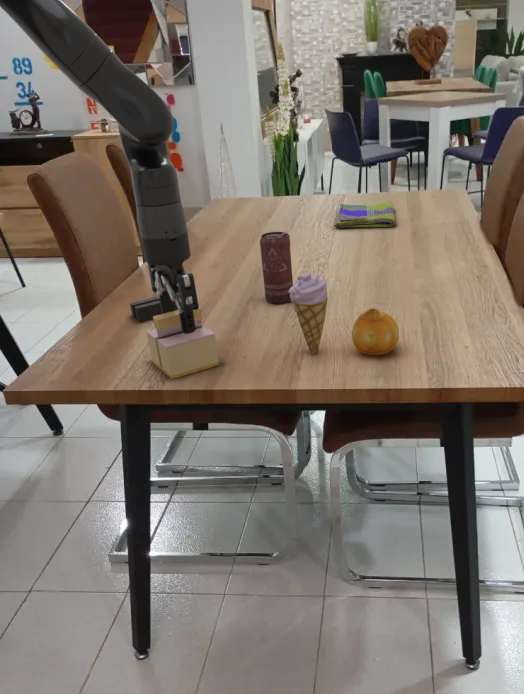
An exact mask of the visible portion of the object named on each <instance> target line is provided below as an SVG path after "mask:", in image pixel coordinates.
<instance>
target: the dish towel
mask: <svg viewBox="0 0 524 694" xmlns="http://www.w3.org/2000/svg"><path fill="white" fill-rule="evenodd" d="M395 225H396V215H395V207H394V203H393V201H385V202H379V203H375V204H370V205H364V204H345V203H339V212H338V215H337V218H336V221H335V223H334V227H338V228H339V229H347V228H348V229H349V228H351V229H352V228H392V227H394V226H395Z"/></svg>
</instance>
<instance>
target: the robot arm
mask: <svg viewBox="0 0 524 694" xmlns="http://www.w3.org/2000/svg"><path fill="white" fill-rule="evenodd" d="M0 8H1V9H2V10H3V11H4V12H5V13H6V14H7V15H8V16H9V18H11V19H12V20H13V22H14V23H15V24H16V25H17V26H18V27H19V28H20V29H21V30H22V32H24V34H25V35H26V36H27V37H28V38H29V39H30V40H31V41H32V43H34V44H35V46H36V47H38V49H39V50H40V52H42V53H43V54H44V55H45V56H46V58H47V59H49V60H50V61H51V63H52V64H54V66H55V67H56V68H57V69H58V70H59V71H60V72H62V74H64V76H65V77H67V78H68V79H69V81H71V82H72V83H73V84H74V85H75V86H76V88H78V89H79V90H80V91H81V92H83V94H85V95H86V96H87V97H88V98H90V99H92V100H93V101H95V102H96V103H97V104H99V105H100V106H101V107H102V108H103V109H104V110H105V111H106V112H107V113H108V114H109V115H110V116H111V117H112V118H113V119H114V120H116V123H117V130H118V133H119V136H120V140H121V144H122V148H123V151H124V155H125V157H126V161H127V164H128V167H129V171H130V177H131V184H132V190H133V196H134V201H135V209H136V222H137V228H138V233H139V238H140V244H141V248H142V255H143V259H144V262H145V263H146V264H147V266H148V267H147V268H148V272H149V278H150V279H149V280H150V283H151V290H152V292H153V293H156V297H158V299H159V301H160V306H161V312H162V314H164V313H168V312H172V311H175V309H174V303H173V301H174V302H175V303H176V305H177V308H178V311H179V316H180V322H181V328H182V332H183V333H184V334H188V333H192V332H194V331H195V330H196V328H195V321H194V315H193V310H197V309H199V308H200V305H199V299H198V295H197V290H196V283H195V276H194V274H193V273H192V272H189V273H186V271H185V269H184V265H183V264H184V263H185V261H187V260H189V259H190V257H191V254H192V253H191V246H190V240H189V234H188V233H189V232H188V227H187V221H186V220H187V219H186V215H185V214H186V213H185V209H184V207H183V203H182V198H181V191H180V190H181V189H180V183H179V179H178V174H177V169H176V167H175V165H174V164H173V162H172V160H171V159H170V156H169V151H168V145H167V141H168V140H169V139H170V138H171V136H172V134H173V131H174V126H175V125H174V122H175V121H174V117H173V113H172V111H171V109H170V107H169V105H168V104H167V103H166V102H165V100H164V99H163V98H162V97H161V96H160V95H159V94H158V93H157V92H156V91H155V90H154V89H153V88H152V87H151V86H150V85H149V84H147V83H146V82H145V81H144V80H142V78H141V77H139V76H138V75H137V74H136V73H135V72H134V71H132V70H131V69H130V68H128V66H126V65H125V64H124V62H123V61H122V60H121V59H120V58H119V57H118V56H117V54H116V53H115V52H114V51H113V50H112V49H111V48H110V46H108V45H107V43H105V41H104V40H103V39H102V38H101V37H100V36H99V35H98V34H97V33H96V32H95V31H94V30H93V29H92V28H91V26H89V25H88V24H87V23H86V22H85V20H83V19H82V18H81V17H80V15H78V14H77V13H76V11H74V10H73V9H72V8H70V6H68V4H67V3H65V2H64V1H63V0H0Z"/></svg>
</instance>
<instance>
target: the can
mask: <svg viewBox="0 0 524 694" xmlns="http://www.w3.org/2000/svg"><path fill="white" fill-rule="evenodd" d="M290 236H291V235H290V234H289V233H288V232H284V231H269V232H265V233H263V234H261V236H260V239H259V247H260V257H261V266H262V276H263V286H264V299H265V300H266V301H267V303H269V304H273V305H284V304H287V303H290V302H292V301H291V299H290V294H291V293H289V292H288V291H289V289H290V288H291V287H292V286H294V280H293V279H294V278H293V268H292V255H291V253H292V252H291V237H290Z"/></svg>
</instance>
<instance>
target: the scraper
mask: <svg viewBox="0 0 524 694" xmlns="http://www.w3.org/2000/svg"><path fill="white" fill-rule="evenodd" d="M193 315H194V321H195V328H196V329H199V328H202V326H203V324H202V320H203V314H202V308H201V307H199V309H197V310H193ZM152 320H153V325H154V329H157V333H158V339H163V338H167V337H170V336H174V335H177V334H181V333H183V332H182V328H181V322H180V316H179V311H178V310H176V311H172V312H168V313H164V314H161V315H157V316H153V319H152ZM201 324H202V325H201Z"/></svg>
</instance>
